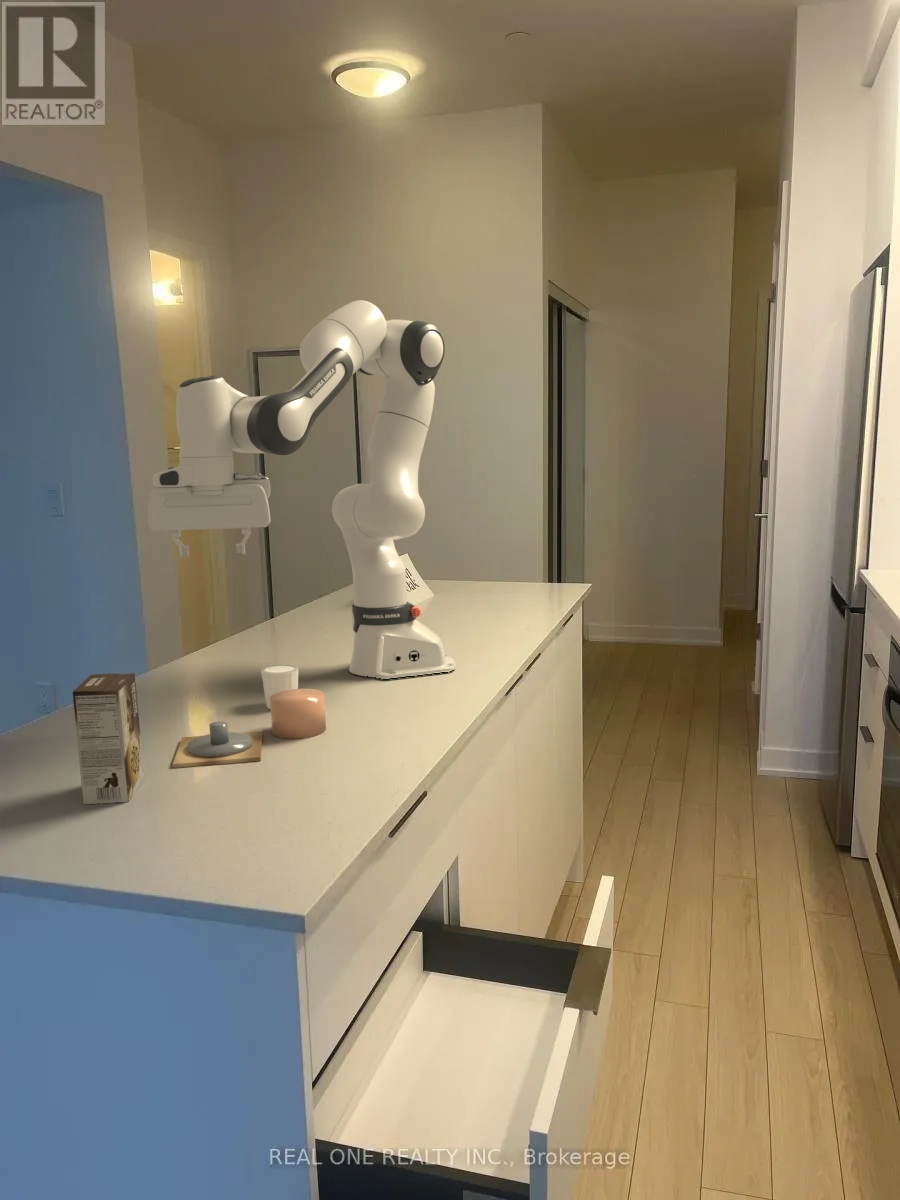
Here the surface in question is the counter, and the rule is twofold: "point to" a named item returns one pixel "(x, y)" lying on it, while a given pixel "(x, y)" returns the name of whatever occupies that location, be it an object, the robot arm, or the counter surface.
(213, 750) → the lid
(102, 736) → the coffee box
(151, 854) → the counter surface
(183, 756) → the mat
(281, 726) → the canister
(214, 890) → the counter surface
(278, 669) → the white cup
